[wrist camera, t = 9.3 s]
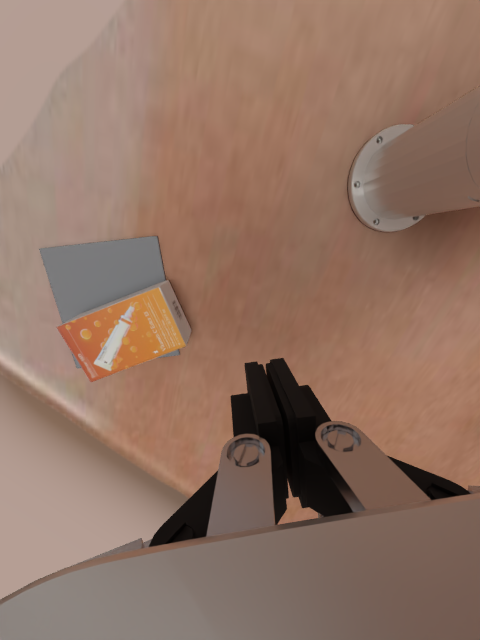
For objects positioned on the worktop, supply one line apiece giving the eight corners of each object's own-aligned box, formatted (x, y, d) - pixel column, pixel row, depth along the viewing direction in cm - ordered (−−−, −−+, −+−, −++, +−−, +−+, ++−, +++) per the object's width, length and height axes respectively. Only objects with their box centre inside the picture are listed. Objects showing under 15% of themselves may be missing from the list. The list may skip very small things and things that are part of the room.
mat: (157, 236, 34) (156, 235, 34) (179, 353, 39) (179, 355, 39) (41, 248, 33) (39, 248, 33) (78, 367, 38) (76, 368, 38)
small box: (187, 346, 32) (90, 384, 32) (192, 330, 38) (111, 362, 38) (158, 285, 29) (53, 326, 30) (168, 278, 35) (81, 312, 36)
